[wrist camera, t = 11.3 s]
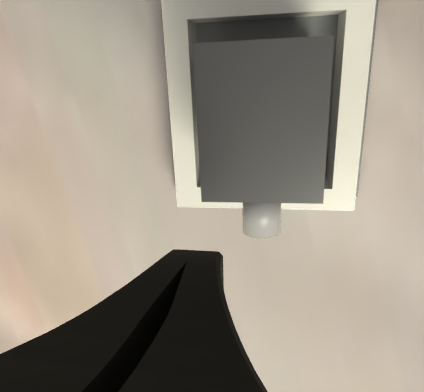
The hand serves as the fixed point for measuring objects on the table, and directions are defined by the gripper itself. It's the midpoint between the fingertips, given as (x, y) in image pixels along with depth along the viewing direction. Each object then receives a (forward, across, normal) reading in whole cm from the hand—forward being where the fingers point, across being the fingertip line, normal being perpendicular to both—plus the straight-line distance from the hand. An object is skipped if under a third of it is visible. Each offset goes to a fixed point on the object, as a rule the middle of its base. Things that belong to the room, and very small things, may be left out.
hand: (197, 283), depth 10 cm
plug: (+9, -2, -4) cm, 10 cm away
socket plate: (+10, -2, -4) cm, 10 cm away
